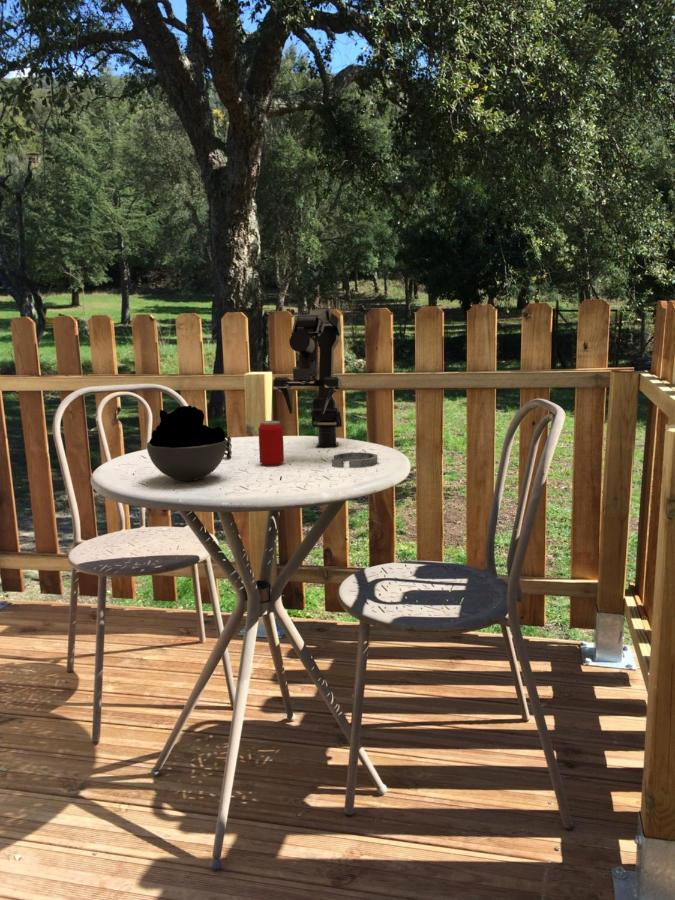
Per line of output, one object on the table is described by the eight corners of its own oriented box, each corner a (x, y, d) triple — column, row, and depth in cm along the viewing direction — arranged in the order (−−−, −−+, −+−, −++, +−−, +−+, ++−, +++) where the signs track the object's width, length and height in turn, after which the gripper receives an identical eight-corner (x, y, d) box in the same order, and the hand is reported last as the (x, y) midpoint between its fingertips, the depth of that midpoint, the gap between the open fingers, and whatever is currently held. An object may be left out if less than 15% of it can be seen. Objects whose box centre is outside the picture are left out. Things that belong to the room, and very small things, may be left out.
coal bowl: (220, 469, 206) (216, 400, 203) (236, 484, 188) (232, 408, 184) (144, 476, 199) (140, 405, 196) (154, 492, 181) (148, 413, 178)
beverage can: (285, 462, 215) (284, 420, 213) (281, 466, 208) (280, 423, 206) (262, 462, 216) (260, 420, 214) (257, 466, 209) (255, 423, 207)
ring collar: (334, 459, 217) (334, 452, 217) (377, 458, 216) (377, 452, 216) (331, 467, 205) (331, 460, 205) (377, 467, 204) (377, 459, 204)
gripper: (268, 353, 207) (266, 410, 206) (334, 352, 204) (333, 410, 203) (278, 361, 218) (277, 415, 217) (342, 360, 215) (341, 415, 214)
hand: (306, 413), depth 212 cm, fingers open, 9 cm apart
